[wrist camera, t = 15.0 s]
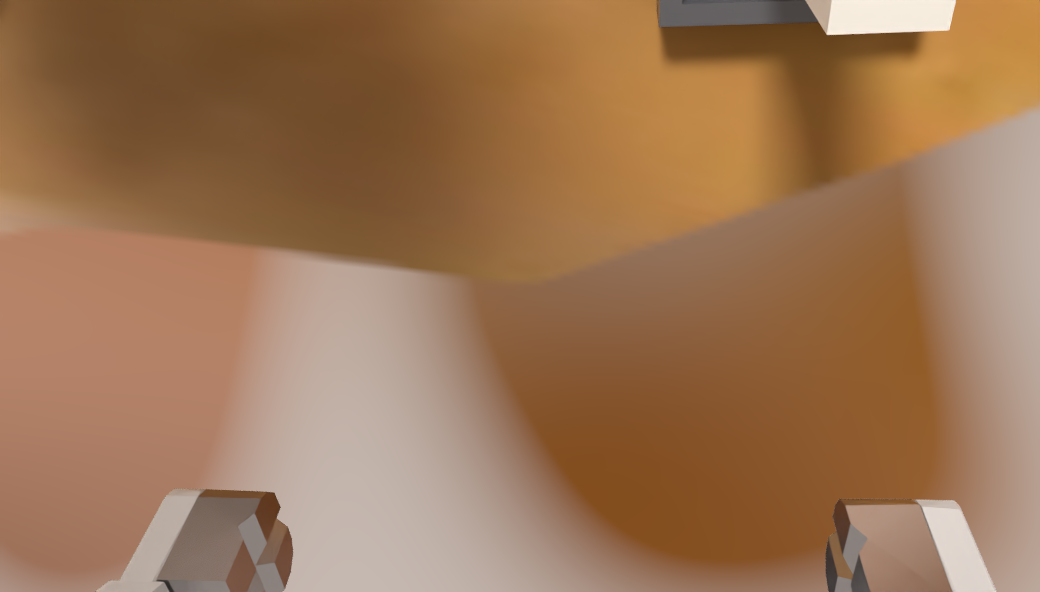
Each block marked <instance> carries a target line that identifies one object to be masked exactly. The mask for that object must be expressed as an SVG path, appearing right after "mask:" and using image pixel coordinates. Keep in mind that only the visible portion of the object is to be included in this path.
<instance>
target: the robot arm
mask: <svg viewBox="0 0 1040 592" xmlns="http://www.w3.org/2000/svg"><path fill="white" fill-rule="evenodd" d="M280 508H281V507H280V505H279V503H278V500H277V498H276V496H275V493H273V492H258V491H257V492H255V491H234V490H209V489H174V490H173V491H171V492H170V493H169V494H168V495H167V496H166V497H165V498H164V500H163V502H162V504H161V505H160V507H159V509H158V511H157V513H156V515H155V517H154V518H153V520H152V522H151V524H150V526H149V527H148V530H147V531H146V533H145V535H144V537H143V538H142V540H141V542H140V544H139V546H138V548H137V549H136V551H135V553H134V555H133V557H132V558H131V560H130V562H129V564H128V566H127V568H126V570H125V572H124V573H123V575H122V577H121V579H120V580H110V581H109V582H107V583H106V584H105V585H103V586H102V587H101V588H99V589H98V590H97V591H95V592H282V591H283V590H284V589H285V587H286V584H287V581H288V578H289V575H290V572H291V565H292V557H293V547H292V538H291V535H290V532H289V529H288V527H287V526H286V525H285V524H283V523H282V522H281V521H279V520H278V519H277V515H278V513H279V510H280ZM833 519H834V523H835V527H836V532H835V533H833V534H832V535H831V536H829V537H828V542H827V548H826V578H827V585H828V591H829V592H997V591H996V589H995V586H994V584H993V582H992V579H991V577H990V575H989V572H988V570H987V568H986V566H985V563H984V561H983V559H982V556H981V554H980V552H979V549H978V547H977V545H976V542H975V540H974V538H973V536H972V533H971V531H970V529H969V526H968V524H967V522H966V519H965V517H964V515H963V512H962V510H961V508H960V506H959V505H958V504H957V503H956V502H955V501H954V500H912V499H839V500H838V502H837V503H836V505H835V509H834V514H833Z"/></svg>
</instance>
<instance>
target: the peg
mask: <svg viewBox="0 0 1040 592" xmlns="http://www.w3.org/2000/svg"><path fill="white" fill-rule="evenodd" d="M805 1H806V2H807V4H808V5H809V7H810V9H811V10H812V12H813V14H814V15H815V17H816V18H817V20H818V22H819V23H820V25H821V26H822V28H823V30H824V31H825V33H826V34H827V35H841V34H867V33H893V32H919V31H945V30H949V29H950V24H951V20H952V15H953V11H954V6H955V2H956V0H805Z"/></svg>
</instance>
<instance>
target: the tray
mask: <svg viewBox="0 0 1040 592" xmlns="http://www.w3.org/2000/svg"><path fill="white" fill-rule="evenodd" d="M657 15H658V22H659V27H677V26H710V25H742V24H775V23H808V22H818V20H817V18H816V17H815V15H814V14H813V12H812V10H811V9H810V7H809V5H808V4H807V2H806V1H805V0H657Z"/></svg>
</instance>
